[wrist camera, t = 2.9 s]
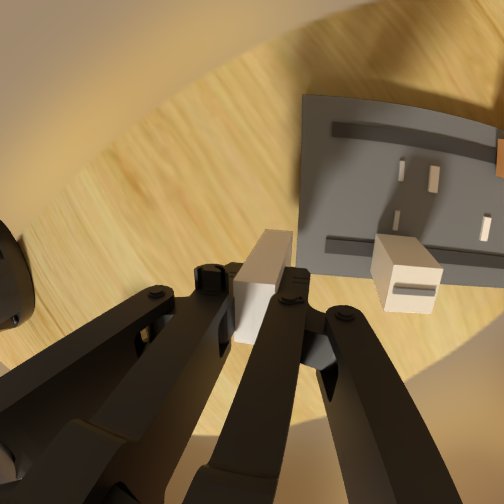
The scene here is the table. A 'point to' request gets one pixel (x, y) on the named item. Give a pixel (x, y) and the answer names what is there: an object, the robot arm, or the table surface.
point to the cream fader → (404, 274)
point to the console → (398, 188)
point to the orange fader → (500, 159)
